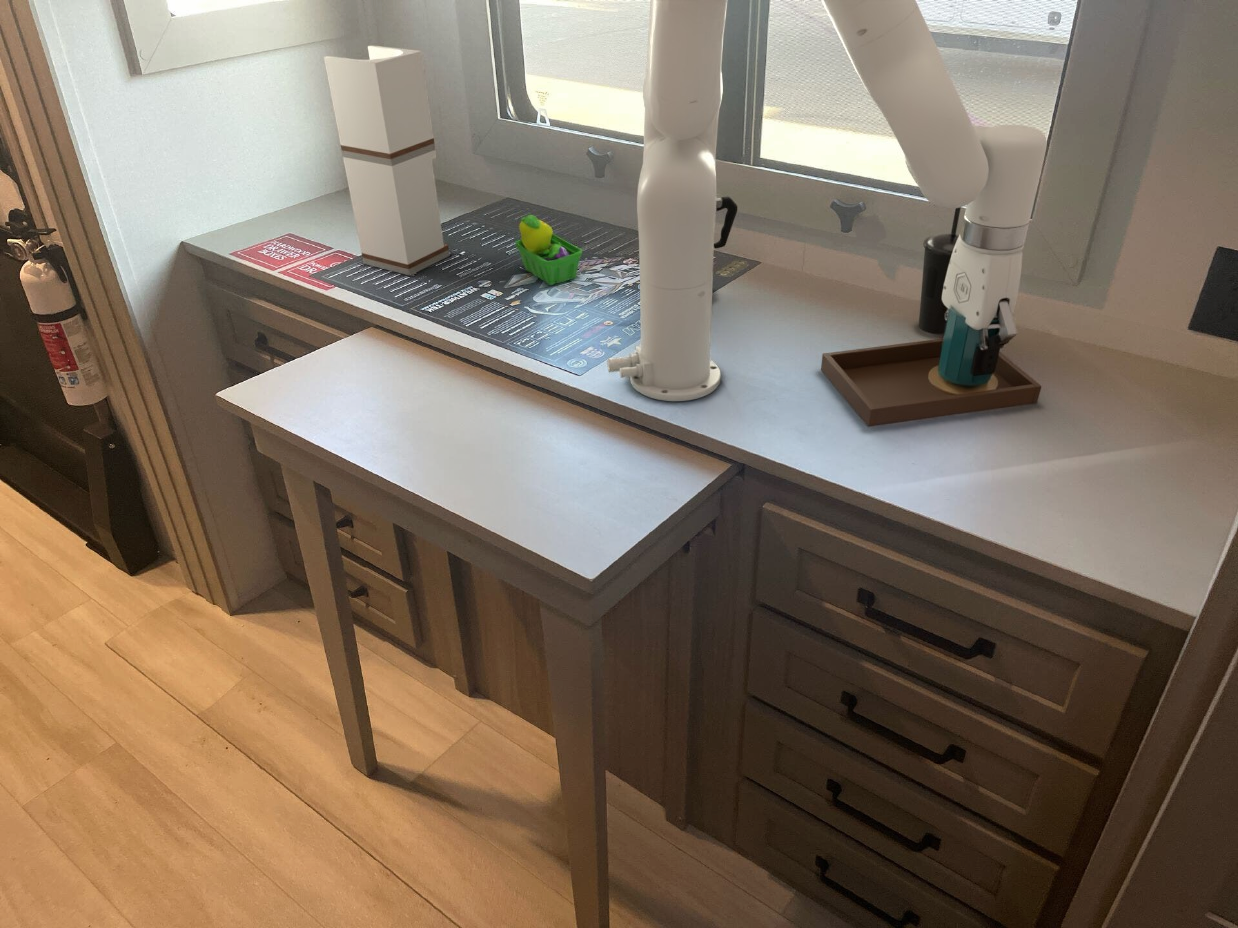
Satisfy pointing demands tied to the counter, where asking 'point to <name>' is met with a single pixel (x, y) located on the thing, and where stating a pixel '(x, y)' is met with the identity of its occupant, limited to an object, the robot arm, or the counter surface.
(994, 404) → the tray
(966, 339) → the cup
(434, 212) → the striped cream pillar
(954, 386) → the coaster
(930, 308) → the drinking cup
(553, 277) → the fruit basket
